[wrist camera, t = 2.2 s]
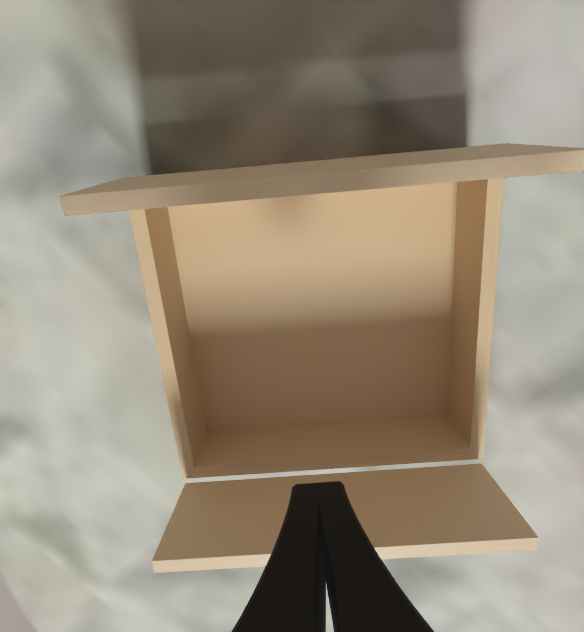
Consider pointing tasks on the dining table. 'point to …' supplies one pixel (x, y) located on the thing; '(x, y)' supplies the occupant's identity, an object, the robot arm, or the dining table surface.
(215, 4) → the dining table surface
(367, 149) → the dining table surface
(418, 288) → the carton
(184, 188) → the near flap
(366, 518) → the far flap
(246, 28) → the dining table surface
